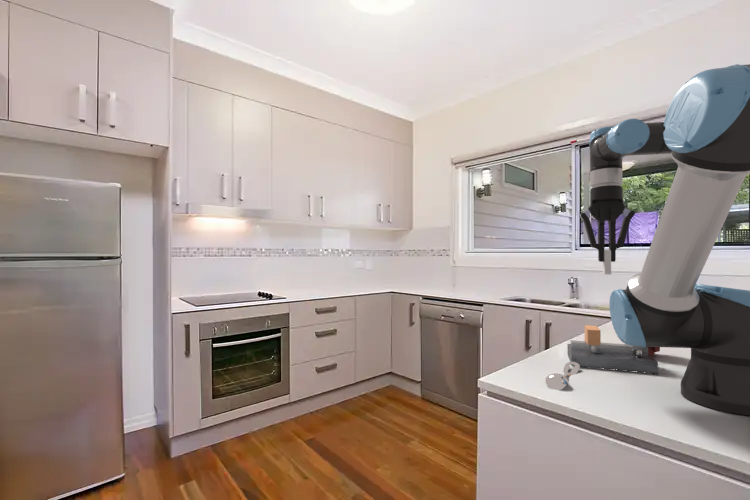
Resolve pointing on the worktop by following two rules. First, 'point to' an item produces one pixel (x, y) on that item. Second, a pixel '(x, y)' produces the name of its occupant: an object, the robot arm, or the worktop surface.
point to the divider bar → (611, 348)
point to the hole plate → (613, 360)
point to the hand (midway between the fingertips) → (607, 274)
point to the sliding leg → (592, 336)
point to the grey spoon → (561, 377)
